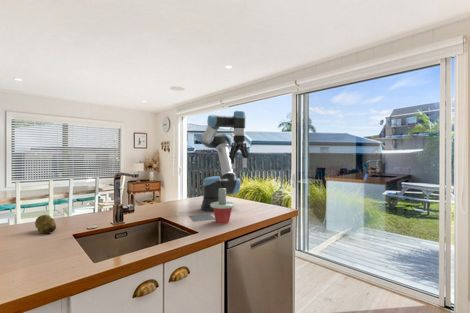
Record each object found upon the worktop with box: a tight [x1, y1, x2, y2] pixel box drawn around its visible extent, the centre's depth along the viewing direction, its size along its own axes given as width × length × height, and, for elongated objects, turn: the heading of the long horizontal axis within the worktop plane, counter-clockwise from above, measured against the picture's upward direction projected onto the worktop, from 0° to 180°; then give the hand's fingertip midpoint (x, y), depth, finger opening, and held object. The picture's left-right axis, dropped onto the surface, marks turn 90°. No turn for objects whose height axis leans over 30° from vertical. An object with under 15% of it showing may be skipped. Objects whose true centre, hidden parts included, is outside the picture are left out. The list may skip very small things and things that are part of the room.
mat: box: [188, 213, 216, 222], centre depth 156 cm, size 14×14×1 cm
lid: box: [210, 188, 235, 209], centre depth 147 cm, size 14×14×10 cm
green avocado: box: [34, 214, 57, 234], centre depth 128 cm, size 8×13×8 cm, turn 39°
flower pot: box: [213, 207, 233, 225], centre depth 147 cm, size 11×11×10 cm
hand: (239, 168), depth 162 cm, fingers open, 13 cm apart
